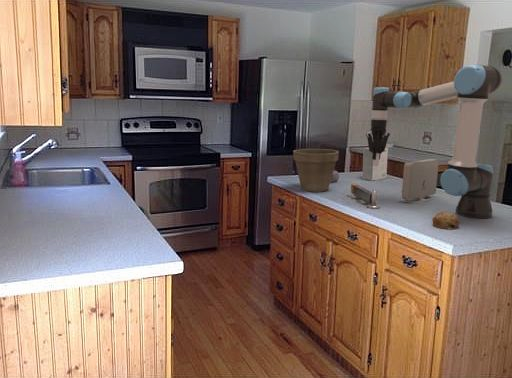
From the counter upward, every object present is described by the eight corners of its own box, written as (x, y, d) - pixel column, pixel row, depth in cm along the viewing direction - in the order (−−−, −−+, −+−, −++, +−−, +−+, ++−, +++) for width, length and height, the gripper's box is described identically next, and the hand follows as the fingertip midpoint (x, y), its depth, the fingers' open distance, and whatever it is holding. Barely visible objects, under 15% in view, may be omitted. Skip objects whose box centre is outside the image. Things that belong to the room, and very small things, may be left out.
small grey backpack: (323, 178, 297) (301, 182, 284) (323, 165, 295) (302, 168, 282) (342, 182, 286) (320, 185, 273) (342, 168, 284) (321, 171, 271)
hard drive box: (376, 176, 305) (378, 146, 301) (386, 178, 299) (388, 147, 295) (361, 179, 295) (363, 147, 291) (371, 181, 289) (373, 149, 285)
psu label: (365, 198, 240) (365, 197, 240) (352, 199, 239) (352, 197, 239) (359, 195, 248) (359, 194, 247) (347, 195, 246) (347, 194, 246)
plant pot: (282, 188, 263) (283, 150, 258) (312, 183, 279) (313, 147, 275) (316, 196, 244) (318, 154, 240) (345, 190, 261) (347, 151, 256)
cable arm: (375, 202, 224) (375, 193, 223) (369, 203, 223) (369, 193, 222) (356, 192, 247) (356, 183, 246) (350, 192, 246) (351, 184, 246)
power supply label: (375, 204, 228) (375, 202, 228) (361, 204, 227) (361, 203, 227) (368, 200, 236) (368, 199, 236) (355, 200, 235) (355, 199, 235)
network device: (411, 204, 228) (415, 164, 224) (396, 201, 235) (399, 162, 231) (439, 198, 244) (443, 160, 240) (424, 195, 251) (427, 158, 247)
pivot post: (382, 208, 220) (383, 191, 218) (370, 208, 219) (371, 192, 217) (376, 205, 225) (378, 189, 224) (365, 205, 224) (366, 189, 223)
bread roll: (438, 237, 188) (445, 222, 184) (425, 221, 196) (431, 206, 191) (459, 235, 191) (466, 221, 186) (445, 219, 199) (452, 205, 194)
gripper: (385, 118, 238) (382, 164, 243) (363, 118, 234) (360, 165, 239) (394, 119, 231) (391, 166, 236) (372, 119, 227) (368, 167, 232)
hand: (375, 165), depth 237 cm, fingers closed
